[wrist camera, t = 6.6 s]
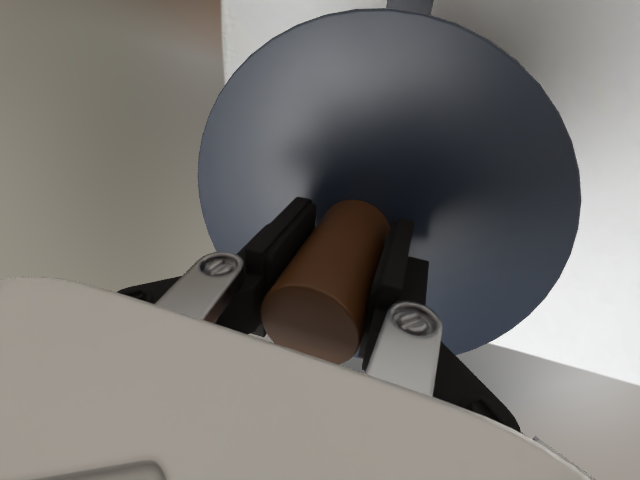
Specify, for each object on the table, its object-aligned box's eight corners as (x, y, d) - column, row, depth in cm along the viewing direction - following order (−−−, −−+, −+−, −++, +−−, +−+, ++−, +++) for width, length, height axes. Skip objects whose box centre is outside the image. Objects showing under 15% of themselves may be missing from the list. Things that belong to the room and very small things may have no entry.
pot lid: (677, 29, 8) (1107, -5, 3) (485, 379, 16) (505, 550, 11) (193, -1, 12) (-24, -42, 6) (226, 300, 20) (140, 398, 14)
